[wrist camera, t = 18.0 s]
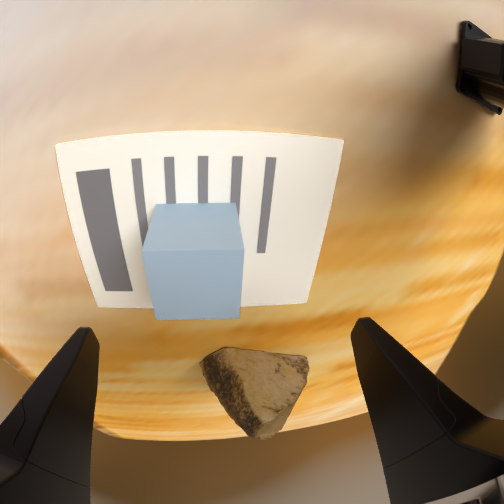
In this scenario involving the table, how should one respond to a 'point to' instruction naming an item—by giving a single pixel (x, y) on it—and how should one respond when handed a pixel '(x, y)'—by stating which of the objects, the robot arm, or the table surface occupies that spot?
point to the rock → (256, 387)
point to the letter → (200, 191)
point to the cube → (194, 261)
